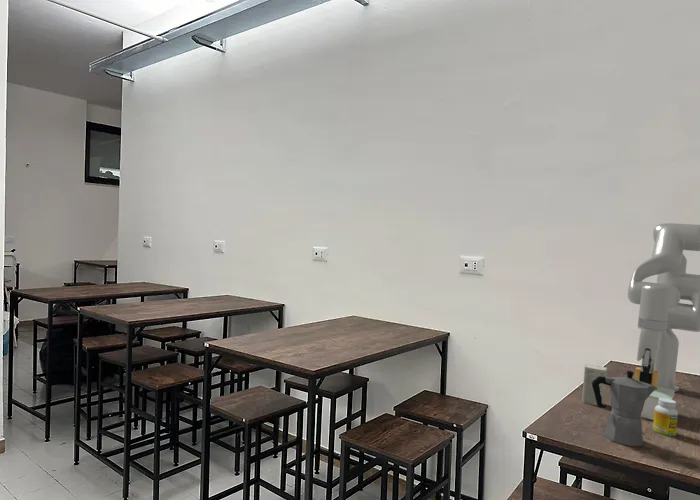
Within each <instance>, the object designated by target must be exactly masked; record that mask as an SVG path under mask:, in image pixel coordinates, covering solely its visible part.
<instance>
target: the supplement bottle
mask: <svg viewBox="0 0 700 500" xmlns="http://www.w3.org/2000/svg"><path fill="white" fill-rule="evenodd" d="M658 403H659V405H657V406H656V407H655V412H654V420H653V422H652V430H653V432H654V433H656V434H659V435H663V436H667V437H676V436H677V428H678V427H677V426H678V420H679V419H678V417H679V412H678V410H677V409H676V406H677V401H675V400H673V399H672V400H671V399H667V398H659V401H658Z"/></svg>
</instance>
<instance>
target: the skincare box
mask: <svg viewBox="0 0 700 500" xmlns="http://www.w3.org/2000/svg"><path fill="white" fill-rule="evenodd" d="M607 374H608V367H605V366H604V367H603V366H599V365H598V366H597V365H593V364H585V365H584V372H583V385H582V396H581V403H584V404H586V405H587V404H588V405H591V406H596V407H598V406H597V402H596V398H595V395H594V391H593V387H592V382H593V380H595V379H596V378H597V377H598V376H602V377H608V376H607ZM599 387H600V395H601V397H602V404H604V405H605V398H606V390H607V389H606V388H607V386H606V385H605V384H602V383H600V384H599Z"/></svg>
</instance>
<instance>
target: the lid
mask: <svg viewBox="0 0 700 500" xmlns="http://www.w3.org/2000/svg"><path fill="white" fill-rule="evenodd" d="M640 371H641V367H638V366H637V367H635V370H634V379H636V380H638V381H639V379H640ZM652 373H653V374H652V383H651V385H653V386H655V387H657V386H658V377H659V371H654V370H652ZM674 395H675V391H673V390H668V389H664V388H659V387H657V389H656V390H654V391H653V392H652V393H651V394H650V396H649V397H648V398H653V399H657V400H659V398H667V399H671V400H673V399H674Z"/></svg>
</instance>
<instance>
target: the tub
mask: <svg viewBox="0 0 700 500" xmlns="http://www.w3.org/2000/svg"><path fill="white" fill-rule="evenodd" d="M658 401H659V400H657V399H653V398H647V399H646V400H645V403H644V407H643V410H642V412H641V418H644V419H649V420H652V421H654V412H655V407H656V406H657V405H659V403H658Z"/></svg>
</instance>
